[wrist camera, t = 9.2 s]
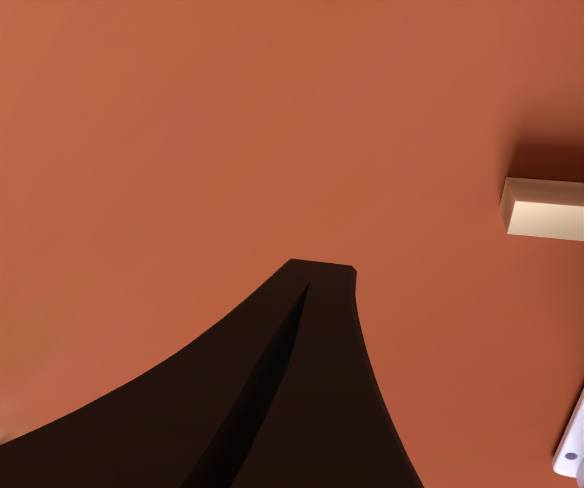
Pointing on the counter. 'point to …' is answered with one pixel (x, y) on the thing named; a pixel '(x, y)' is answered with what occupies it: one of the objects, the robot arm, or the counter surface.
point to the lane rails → (543, 208)
